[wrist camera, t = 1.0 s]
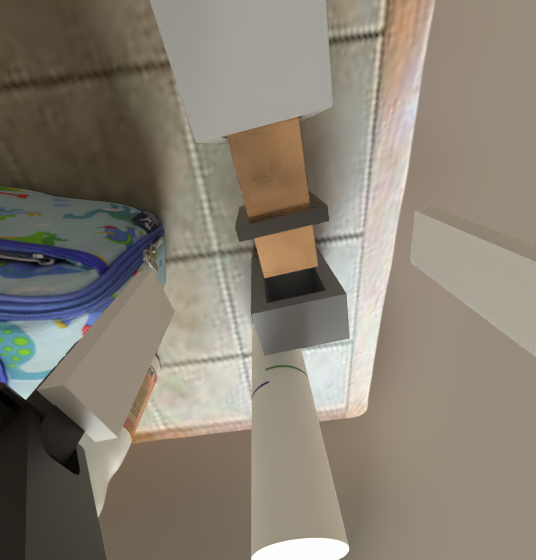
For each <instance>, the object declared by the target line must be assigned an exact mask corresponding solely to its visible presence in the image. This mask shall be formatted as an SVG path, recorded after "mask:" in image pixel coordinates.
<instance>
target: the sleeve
mask: <svg viewBox="0 0 536 560" xmlns="http://www.w3.org/2000/svg"><path fill="white" fill-rule="evenodd" d="M150 3H151V6H152V9H153V12H154V16H155V19H156V22H157V25H158V28H159V31H160V34H161V37H162V40H163V43H164V46H165V50H166V53H167V56H168V59H169V62H170V65H171V68H172V71H173V74H174V77H175V80H176V84H177V87H178V90H179V93H180V96H181V99H182V102H183V105H184V108H185V111H186V114H187V117H188V121H189V124H190V127H191V130H192V133H193V136H194V139H195V142H197V143H210V144H222V143H226V142H228V138H227V135H231V134H234V133H238V132H242V131H246V130H250V129H253V128H257V127H261V126H265V125H269V124H273V123H276V122H280V121H284V120H288V119H292V118H296V117H298V118H299V123H301V122H303V121H305V120H307V119H309V118H311V117H313V116H315V115H317V114H319V113H321V112H323V111H325V110H327V109H329V108H331V107H333V95H332V81H331V67H330V53H329V38H328V24H327V10H326V0H150Z"/></svg>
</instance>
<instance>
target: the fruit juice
mask: <svg viewBox="0 0 536 560" xmlns="http://www.w3.org/2000/svg"><path fill="white" fill-rule="evenodd" d="M159 372H160V363H159V360H158V358H157V357H156V356H154V358H153V361H152V363H151V365H150V367H149V370H148V372H147V374H146V376H145V378H144V381H143V383H142V385H141V387H140V390H139V392H138V394H137V396H136V399H135V401H134V403H133V405H132V407H131V410H130V412H129V414H128V416H127V419H126V421H125V423H124V425H123V428H122V430H121V432H120V434H119V437H118V438H114V439H109V440H103V441H98V442H95V441H94V440H93V439H92V438H91V437H89V436H88V435H87V434H86V433H85V432H84V434H83V436H82V438H81V439H80V441H79V444H80V445H81V446H82V447H83V449H84V450H85V455H86V460H87V465H88V470H89V475H90V480H91V485H92V490H93V495H94V500H95V505H96V510H97V515H98V517H99V515H100V513H101V510H102V508H103V504H104V501H105V496H106V491H107V485H108V483H109V480H110V479H111V477H112V476H113V475H114V474H115V472H116V471H117V470H118V468H119V467H120V465H121V463H122V461H123V459H124V457H125V455H126V453H127V451H128V449H129V446H130V444H131V441H132V439H133V436H134V434H135V431H136V429H137V426H138V424H139V422H140V419H141V417H142V414H143V412H144V409H145V407H146V405H147V402H148V400H149V397H150V395H151V392H152V390H153V388H154V385H155V383H156V380H157V378H158V375H159Z"/></svg>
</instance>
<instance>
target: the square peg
mask: <svg viewBox="0 0 536 560" xmlns="http://www.w3.org/2000/svg"><path fill="white" fill-rule="evenodd" d="M227 138H228V142H229V146H230V150H231V153H232V157H233V161H234V165H235V168H236V172H237V176H238V180H239V184H240V187H241V191H242V195H243V199H244V203H245V206H242V207H239V212H238V217H237V221H236V226H235V229H236V232H237V235H238V239H239V242H241V241H245V240H250V239H254V240H255V244H256V248H257V252H258V256H259V259H260V263H261V267H262V271H263V275H264V278H268V277H272V276H277V275H281V274H286V273H290V272H295V271H299V270H303V269H308V268H312V267H317V266H318V262H317V255H316V247H315V239H314V232H313V225H314V224H318V223H323V222H327V221H329V216H328V206H327V205H326V204H325V203H324V202H322V201H321V200H320V199H318V198H317V197H316V196H315V195H313V194H312V193H311V192H310V191H308V186H307V179H306V171H305V164H304V156H303V148H302V141H301V133H300V126H299V118H298V117H296V118H292V119H288V120H284V121H280V122H276V123H273V124H269V125H265V126H261V127H257V128H253V129H250V130H246V131H242V132H238V133H234V134H231V135H227Z"/></svg>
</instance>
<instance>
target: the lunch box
mask: <svg viewBox="0 0 536 560" xmlns="http://www.w3.org/2000/svg"><path fill="white" fill-rule="evenodd" d="M163 234H164V230H163V227H162V223H161V222H160V220H159V219H158V218H157V217H156V216H155V215H154V214H152V213H151V212H148V211H146V210H142V209H138V208H133V207H130V206H127V205H122V204H118V203H111V202H103V201H91V200H83V199H72V198H65V197H56V196H52V195H49V194H45V193H41V192H36V191H31V190H27V189H18V188H11V187H5V186H0V382H3V383H6V384H7V385H8V386H9V387H11V388H12V389H13V390H14V391H15V392H17V393H18V394H19V395H20V396H21V397H23V398H24V399H27V398H28V397H29V396H30V394H31V393H32V392H33V391H34V390H35V389H36V388H37V386H38V385H39V384H40V383H41V382H42V381H43V379H44V378H45V377H46V376H47V375H48V374H49V373H50V371H51V370H52V369H53V368H54V367H55V366H57V365H58V364H57V363H58V362H59V361H60V360H61V359H62V358H63V357H64V356H66V355H65V354H66V353H67V352H68V351H69V350H70V348H71V347H72V346H73V345H74V344H75V343H76V342H77V341H78V340H80V339H81V338H82V337H83V336H84V335H85V333H86V332H87V331H88V330H89V329H90V328H91V326H92V325H93V324H94V323H95V322H96V321H97V319H98V318H99V317H100V316H101V315H102V314H103V312H104V311H105V310H106V309H107V308H108V307H109V305H110V304H111V303H112V302H113V301H114V300H115V299H116V297H117V296H118V295H119V294H120V293H121V292H122V290H123V289H124V288H125V287H126V286H127V285H128V283H129V282H130V281H131V280H132V279H133V278H134V276H135V275H136V274H137V273H138V272H141V271H145V270H150V269H153V271H154V273H155V274H156V276H157V278H158V280H159V282H160V284H161V286H162V288H164V285H165V282H166V265H165V257H166V250H165V239H164V235H163Z"/></svg>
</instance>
